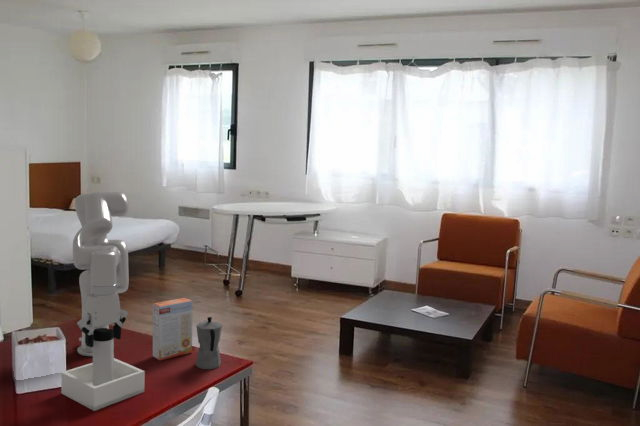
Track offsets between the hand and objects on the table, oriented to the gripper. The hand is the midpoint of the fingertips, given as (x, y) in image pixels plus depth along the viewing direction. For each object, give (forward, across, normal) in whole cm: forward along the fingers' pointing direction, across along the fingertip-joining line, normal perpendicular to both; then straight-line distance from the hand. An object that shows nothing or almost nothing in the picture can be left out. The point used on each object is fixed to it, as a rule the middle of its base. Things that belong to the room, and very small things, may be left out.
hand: (103, 342), depth 184 cm
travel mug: (+16, 0, 0) cm, 16 cm away
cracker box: (+17, -36, -10) cm, 41 cm away
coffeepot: (+17, -38, +8) cm, 42 cm away
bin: (+17, 0, 0) cm, 17 cm away
